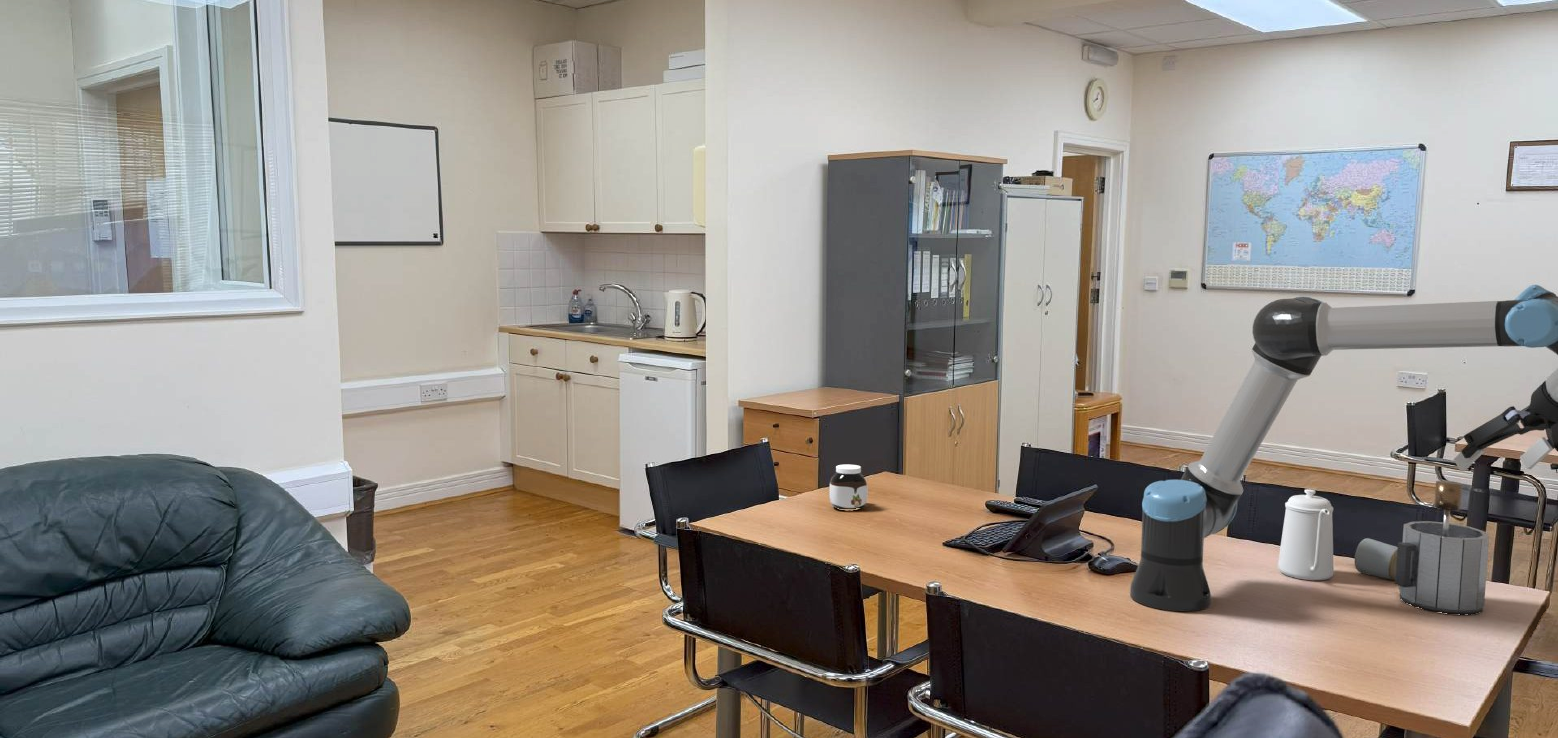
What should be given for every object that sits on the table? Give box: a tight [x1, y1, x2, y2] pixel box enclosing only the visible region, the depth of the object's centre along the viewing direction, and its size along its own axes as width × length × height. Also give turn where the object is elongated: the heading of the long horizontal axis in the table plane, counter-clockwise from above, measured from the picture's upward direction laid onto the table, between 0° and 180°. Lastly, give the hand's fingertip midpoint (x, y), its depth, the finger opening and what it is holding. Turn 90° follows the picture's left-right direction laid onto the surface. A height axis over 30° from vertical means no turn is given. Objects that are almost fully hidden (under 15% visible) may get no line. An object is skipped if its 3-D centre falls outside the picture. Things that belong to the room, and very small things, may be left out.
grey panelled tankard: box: [1394, 520, 1490, 616], centre depth 210 cm, size 16×14×15 cm
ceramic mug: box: [1354, 537, 1398, 581], centre depth 229 cm, size 11×8×8 cm
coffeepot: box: [1277, 489, 1335, 582], centre depth 228 cm, size 11×25×19 cm, turn 168°
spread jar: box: [828, 463, 869, 509], centre depth 290 cm, size 12×11×12 cm
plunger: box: [1433, 480, 1463, 537], centre depth 209 cm, size 10×10×15 cm
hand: (1491, 464), depth 197 cm, fingers open, 13 cm apart
